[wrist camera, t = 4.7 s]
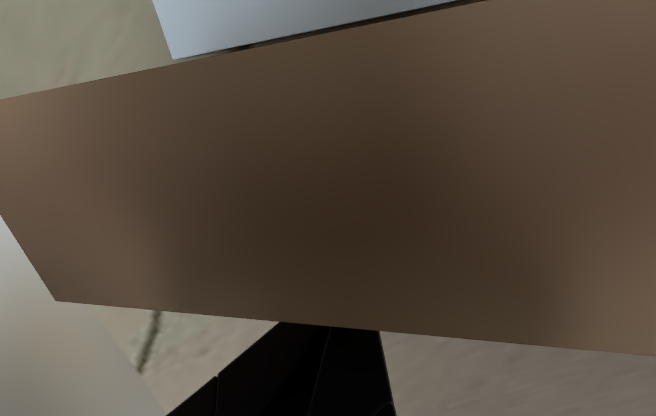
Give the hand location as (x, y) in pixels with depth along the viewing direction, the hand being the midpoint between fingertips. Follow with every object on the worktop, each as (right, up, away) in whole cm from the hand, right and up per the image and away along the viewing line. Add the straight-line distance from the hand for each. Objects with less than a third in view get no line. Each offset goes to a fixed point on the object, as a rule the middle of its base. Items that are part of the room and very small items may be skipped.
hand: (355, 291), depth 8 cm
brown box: (+1, +5, +3) cm, 7 cm away
